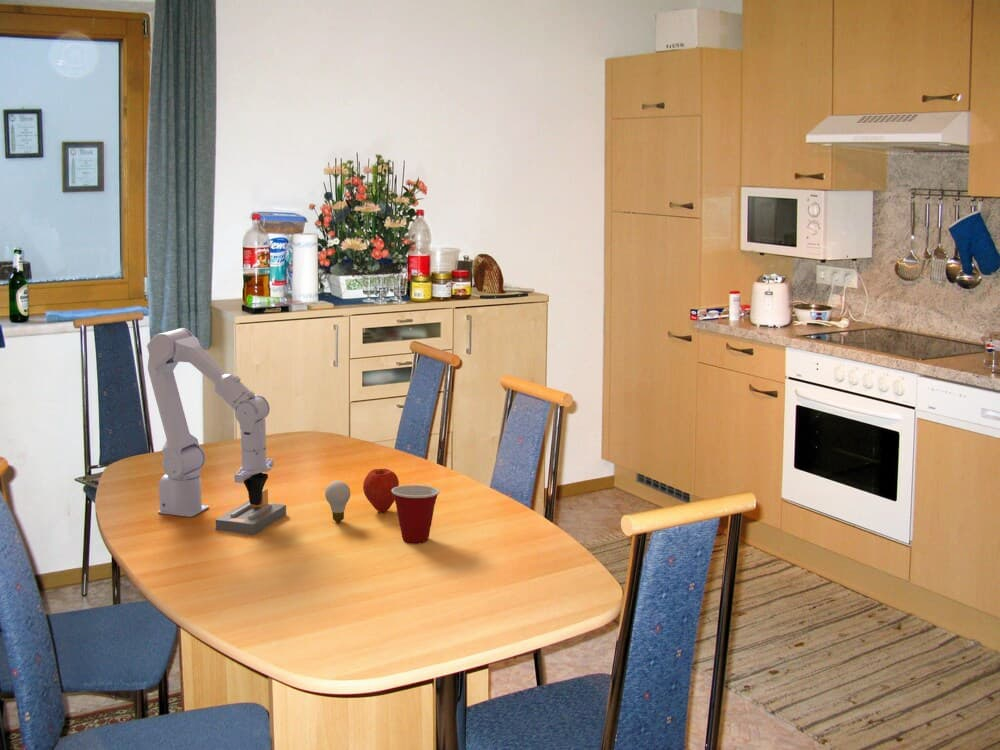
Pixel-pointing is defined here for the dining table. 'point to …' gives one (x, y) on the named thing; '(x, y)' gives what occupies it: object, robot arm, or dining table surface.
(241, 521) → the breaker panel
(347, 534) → the dining table surface
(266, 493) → the handle
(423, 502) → the plastic cup
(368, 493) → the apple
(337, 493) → the light bulb
